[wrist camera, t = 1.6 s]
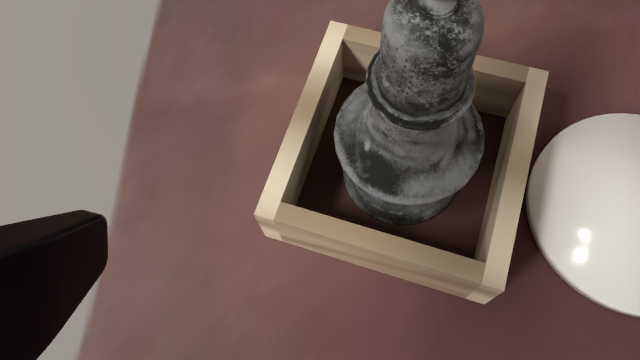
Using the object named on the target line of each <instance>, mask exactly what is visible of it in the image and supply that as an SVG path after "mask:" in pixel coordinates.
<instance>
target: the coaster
mask: <svg viewBox="0 0 640 360" xmlns="http://www.w3.org/2000/svg"><path fill="white" fill-rule="evenodd" d="M526 211H527V218H528V222H529V226H530V229H531V232H532V235H533V237H534V239H535V242H536V244H537V246H538V248H539V249H540V251H541V253H542V254H543V256H544V258H545V259H546V261H547V262H548V263H549V264H550V266H551V267H552V268H553V270H554V271H555V272H556V273H557V274H558V275H559V276H560V277H561V278H562V279H563V280H564V281H565V282H566V283H567V284H568V285H570V286H571V287H572V288H573V289H574V290H576V291H577V292H578V293H580V294H581V295H583V296H584V297H586V298H587V299H589V300H591V301H592V302H594V303H596V304H598V305H600V306H602V307H604V308H606V309H609V310H612V311H615V312H617V313H620V314H624V315H628V316H632V317H636V318H640V115H638V114H626V113H618V114H605V115H598V116H594V117H590V118H587V119H584V120H581V121H579V122H577V123H574V124H572V125H571V126H569V127H567V128H566V129H564V130H563V131H561V132H560V133H559V134H558V135H556V136H555V137H554V138H553V139H552V140H551V141H550V142H549V143H548V145H547V146H546V147H545V148H544V149H543V151H542V152H541V153H540V155H539V156H538V158H537V159H536V161H535V163H534V165H533V167H532V169H531V172H530V175H529V179H528V182H527V189H526Z"/></svg>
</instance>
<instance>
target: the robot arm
mask: <svg viewBox="0 0 640 360" xmlns="http://www.w3.org/2000/svg"><path fill="white" fill-rule="evenodd" d="M107 259H108V233H107V221H106V218H105V217H104V216H103V215H100V214H97V213H93V212H89V211H85V210H77V211H72V212H67V213H62V214H57V215H52V216H47V217H42V218H37V219H32V220H27V221H22V222H17V223H12V224H7V225H3V226H0V360H36V359H37V358H38V357H39V356H40V355H41V354H42V353H43V351H44V350H45V349H46V348H47V347H48V346H49V344H50V343H51V342H52V341H53V339H54V338H55V337H56V335H57V334H58V333H59V332H60V330H61V329H62V328H63V326H64V325H65V323H66V322H67V321H68V319H69V318H70V317H71V315H72V314H73V312H74V311H75V310H76V308H77V307H78V305H79V304H80V303H81V301H82V300H83V299H84V297H85V296H86V294H87V293H88V291H89V290H90V289H91V287H92V286H93V285H94V283H95V282H96V281H97V279H98V278H99V276H100V275H101V274H102V272H103V271H104V269H105V267H106V264H107Z"/></svg>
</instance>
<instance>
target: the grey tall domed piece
mask: <svg viewBox="0 0 640 360" xmlns="http://www.w3.org/2000/svg"><path fill="white" fill-rule="evenodd" d="M483 35H484V15H483V11H482V7H481V5H480V4H479V2H478V1H477V0H390V1H389V3H388V6H387V8H386V10H385V12H384V15H383V21H382V30H381V42H380V49H379V50H378V51H377V53H376V54H375V55H374V56H373V57H372V59H371V62H370V64H369V66H368V68H367V74H366V83H364V84H362V85H361V86H359V87H358V88H356V89H355V90H354V92H353V93H352V94H351V95H350V96H349V97H348V98H347V99H346V100H345V101H344V103H343V105H342V107H341V109H340V111H339V113H338V115H337V118H336V124H335V129H334V141H335V149H336V154H337V156H338V158H339V161H340V163H341V165H342V168H343V176H344V184H345V186H346V188H347V191H348V193H349V195H350V197H351V198H352V200H353V201H354V202H355V203H356V205H357V206H358V207H359V208H360V209H361V210H362V211H364V212H365V213H367V214H368V215H369V216H371V217H372V218H375V219H377V220H379V221H382V222H384V223H388V224H395V225H412V224H419V223H421V222H424V221H427V220H429V219H432V218H433V217H435V216H436V215H437V214H439V213H440V212H442V211H443V210H444V209H445V208H446V207H447V205H448V204H449V203H450V202H451V200H452V199H453V198H454V195H455V193H456V192H457V191H458V190H459V189H461V188H462V187H464V186H465V185H466V184H467V182H468V181H469V180H470V179H471V177H472V176H473V175H474V173H475V172H476V171H477V169H478V166H479V164H480V161H481V158H482V156H483V153H484V139H485V134H484V130H483V125H482V121H481V117H480V116H479V114H478V112H477V110H476V109H475V107H474V105H473V103H472V100H473V97H474V95H475V92H476V77H475V73H474V69H473V66H472V65H473V63H474V60H475V57H476V55H477V52H478V49H479V46H480V44H481V41H482V38H483Z"/></svg>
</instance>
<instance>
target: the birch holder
mask: <svg viewBox="0 0 640 360" xmlns="http://www.w3.org/2000/svg"><path fill="white" fill-rule="evenodd" d="M380 42H381V32H377V31H373V30H369V29H364V28H360V27H356V26H351V25H347V24H343V23H338V22H334V21H330V24H329V26H328V29H327V31H326V34H325V36H324V39H323V41H322V44H321V46H320V49H319V51H318V54H317V57H316V59H315V62H314V64H313V67H312V69H311V72H310V74H309V77H308V79H307V82H306V84H305V87H304V89H303V92H302V94H301V97H300V99H299V102H298V104H297V107H296V109H295V112H294V114H293V117H292V119H291V122H290V125H289V127H288V130H287V132H286V135H285V137H284V140H283V142H282V145H281V147H280V150H279V152H278V155H277V157H276V160H275V162H274V165H273V167H272V170H271V172H270V175H269V177H268V180H267V182H266V185H265V187H264V190H263V193H262V195H261V198H260V200H259V203H258V205H257V208H256V210H255V213H254V215H255V217H256V219H257V221H258V223H259V225H260V227H261V228H262V230H263V232H264V234H265V236H267V237H270V238H273V239H276V240H280V241H283V242H286V243H289V244H292V245H296V246H299V247H302V248H305V249H308V250H312V251H315V252H318V253H321V254H324V255H328V256H331V257H334V258H337V259H340V260H344V261H347V262H350V263H353V264H356V265H360V266H363V267H366V268H369V269H372V270H375V271H379V272H382V273H385V274H388V275H391V276H395V277H398V278H401V279H404V280H407V281H411V282H414V283H417V284H420V285H423V286H427V287H430V288H433V289H436V290H439V291H443V292H446V293H449V294H452V295H455V296H459V297H462V298H465V299H468V300H471V301H474V302H478V303H481V304H486V303H487V302H489V301H490V300H492V299H493V298H495V297H496V296H498V295H499V294H501V293H502V292H504V290H505V285H506V280H507V275H508V270H509V265H510V260H511V255H512V250H513V246H514V241H515V236H516V231H517V226H518V221H519V216H520V211H521V206H522V201H523V196H524V191H525V186H526V181H527V177H528V172H529V167H530V162H531V157H532V152H533V147H534V142H535V137H536V132H537V127H538V122H539V117H540V112H541V108H542V103H543V98H544V93H545V88H546V83H547V78H548V73H549V71H545V70H540V69H536V68H532V67H527V66H523V65H519V64H515V63H510V62H506V61H502V60H497V59H493V58H489V57H484V56H480V55H476V57H475V60H474V63H473V65H472V66H473V69H474V73H475V77H476V92H475V95H474V97H473V100H472V103H473V105H474V107H475V109H476V110H477V111H481V112H485V113H489V114H493V115H497V116H501V117H505V118H506V121H505V125H504V129H503V134H502V138H501V143H500V147H499V151H498V156H497V160H496V164H495V169H494V173H493V178H492V182H491V186H490V191H489V195H488V199H487V204H486V208H485V212H484V217H483V221H482V226H481V230H480V234H479V239H478V243H477V247H476V252H475V256H474V259H471V258H467V257H464V256H461V255H457V254H454V253H451V252H447V251H444V250H441V249H437V248H434V247H431V246H427V245H424V244H421V243H417V242H414V241H411V240H407V239H404V238H401V237H397V236H394V235H391V234H387V233H384V232H381V231H377V230H374V229H371V228H367V227H364V226H361V225H357V224H354V223H350V222H347V221H344V220H340V219H337V218H334V217H330V216H327V215H324V214H320V213H317V212H314V211H310V210H307V209H304V208H300V207H297V206H296V204H297V201H298V198H299V196H300V193H301V190H302V188H303V185H304V182H305V179H306V177H307V174H308V171H309V169H310V166H311V163H312V160H313V158H314V155H315V152H316V150H317V147H318V144H319V142H320V139H321V136H322V133H323V131H324V128H325V125H326V123H327V120H328V117H329V114H330V112H331V109H332V106H333V104H334V101H335V98H336V95H337V93H338V90H339V87H340V85H341V82H342V79H343V77H345V78H349V79H353V80H357V81H361V82H365V83H366V74H367V68H368V66H369V64H370V62H371V59H372V57H373V56H374V55H375V54H376V53H377V51H378V50H379V49H380Z"/></svg>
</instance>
